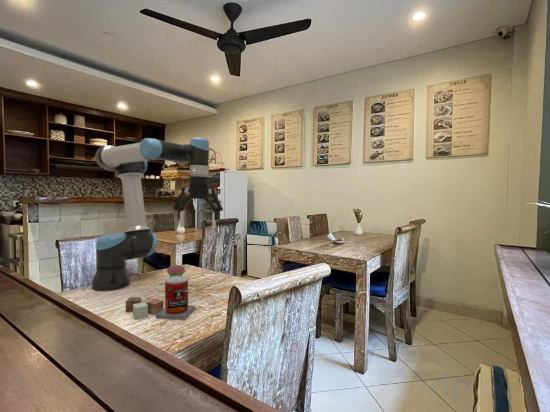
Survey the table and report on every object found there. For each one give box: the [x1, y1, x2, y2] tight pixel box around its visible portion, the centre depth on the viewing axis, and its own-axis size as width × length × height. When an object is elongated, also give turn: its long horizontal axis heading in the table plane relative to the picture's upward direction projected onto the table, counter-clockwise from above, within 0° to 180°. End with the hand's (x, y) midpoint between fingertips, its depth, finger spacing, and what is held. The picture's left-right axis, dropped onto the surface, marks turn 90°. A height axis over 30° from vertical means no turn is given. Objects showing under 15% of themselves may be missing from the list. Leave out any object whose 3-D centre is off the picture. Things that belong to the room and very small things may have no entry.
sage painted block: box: [132, 301, 149, 321], centre depth 101 cm, size 4×4×4 cm
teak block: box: [145, 298, 164, 316], centre depth 105 cm, size 4×4×4 cm
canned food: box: [164, 275, 189, 314], centre depth 104 cm, size 8×8×11 cm
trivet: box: [155, 304, 196, 321], centre depth 104 cm, size 10×10×1 cm
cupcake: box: [166, 256, 186, 277], centre depth 146 cm, size 9×8×12 cm
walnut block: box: [125, 296, 142, 313], centre depth 107 cm, size 4×4×4 cm
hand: (197, 227), depth 124 cm, fingers open, 13 cm apart
